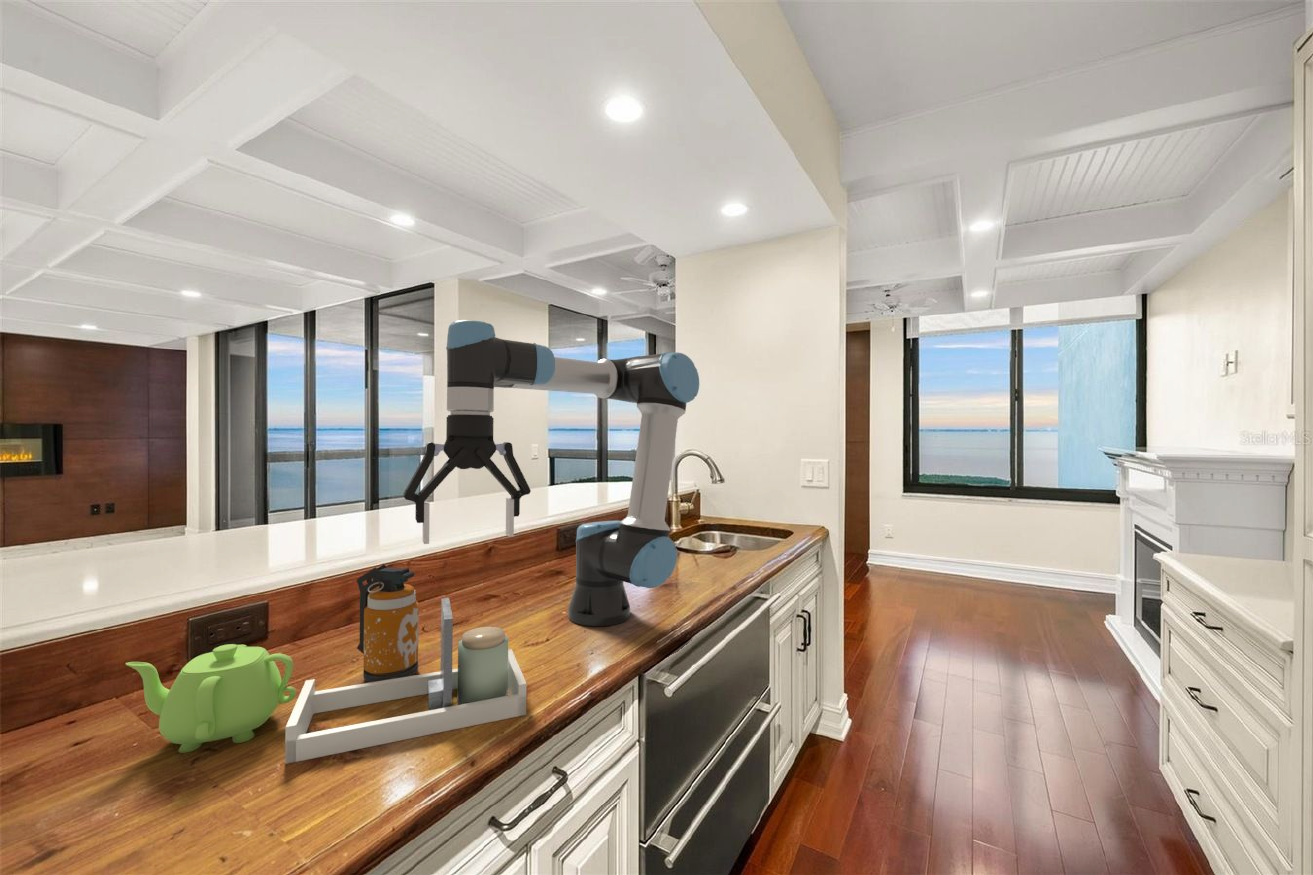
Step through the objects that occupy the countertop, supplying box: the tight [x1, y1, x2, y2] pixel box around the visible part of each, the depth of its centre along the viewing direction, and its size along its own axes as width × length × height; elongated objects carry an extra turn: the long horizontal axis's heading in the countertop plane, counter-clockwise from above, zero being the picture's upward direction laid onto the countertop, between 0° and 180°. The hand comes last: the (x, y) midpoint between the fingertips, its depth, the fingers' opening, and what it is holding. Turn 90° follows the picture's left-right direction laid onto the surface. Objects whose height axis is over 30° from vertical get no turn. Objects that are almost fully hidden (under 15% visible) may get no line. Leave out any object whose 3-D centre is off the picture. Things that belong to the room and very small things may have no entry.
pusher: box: [427, 597, 454, 711], centre depth 86 cm, size 3×11×16 cm, turn 25°
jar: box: [456, 626, 509, 705], centre depth 88 cm, size 8×8×11 cm
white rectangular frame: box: [284, 648, 527, 765], centre depth 84 cm, size 32×14×5 cm, turn 114°
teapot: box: [125, 643, 297, 754], centre depth 78 cm, size 16×14×13 cm
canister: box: [356, 564, 420, 683], centre depth 97 cm, size 9×11×20 cm
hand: (469, 539), depth 90 cm, fingers open, 13 cm apart
